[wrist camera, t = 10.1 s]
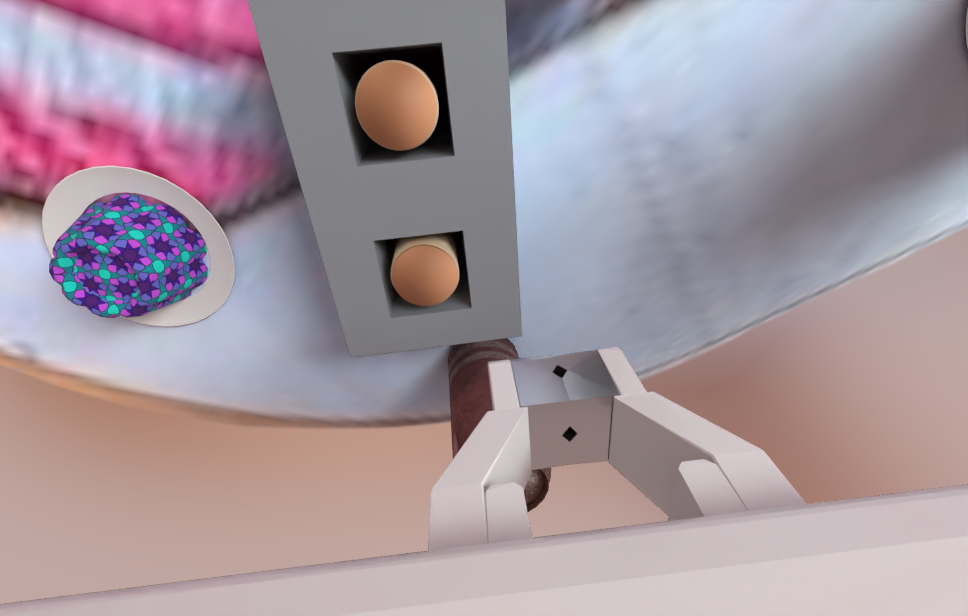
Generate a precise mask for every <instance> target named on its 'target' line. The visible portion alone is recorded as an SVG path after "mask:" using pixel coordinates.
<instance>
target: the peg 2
mask: <svg viewBox="0 0 968 616" xmlns="http://www.w3.org/2000/svg"><path fill="white" fill-rule="evenodd" d="M391 281H392V284H393V286H394V288H395V290H396V291H397V292H398V294H399V295H400V296H401V297H402V298H403V299H405V300H406V301H408V302H410V303H412V304H415V305H419V306H432V305H436V304H439V303H441V302H443V301H445V300H446V299H447V298H448V297H449V296H450V295H451V294H452V293H453V292H454V290H455V289H456V287H457V284H458V281H459V266H458V258H457V250H456V242H455V234H454V232H446V233H437V234H429V235H420V236H411V237H403V238H397V243H396V247H395V252H394V257H393V261H392V266H391Z"/></svg>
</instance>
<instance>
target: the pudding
mask: <svg viewBox="0 0 968 616" xmlns="http://www.w3.org/2000/svg"><path fill="white" fill-rule="evenodd" d="M122 192H129V193H139V194H143V195H147V196H151V197H153V198H156V199H158V200H161V201H163V202H165V203H167V204H168V205H170V206H172V207H174V208H175V209H177V210H178V211H179V212H181V213H182V214H183V215H185V216H186V217H187V218H188V219H189V220H190V221H191V222H192V223H193V224H194V226H195V227H196V228H197V229H198V231H199V232H200V233H201V235H202V237H203V239H204V240H205V242H206V245H207V248H208V250H209V254H210V260H211V265H210V273H209V277H208V268H207V267H206V265H205V264H204V262H203V260H202V259H203V258H204V256H205V254H206V253H207V250H206V246H205V242H204V241H203V239H202V238H201V237H200V235H199V234H198V233H196V232H194V231H192V230H190V229H188V228H187V227H186V224H185V222H184V219H183V216H182V215H180V214H179V213H178V212H177V211H176V210H175V209H174V208H171V207H169V206H167V205H165V204H152V205H150V204H149V203H147V202H146V201H145V200H144V199H142V198H141V197H140V196H137V195H132V194H122V195H116V196H115V197H114V198H113V199H112V200H111V201H110V202H109V203H100V202H97V203H95V204H93V205H92V206H90V207H89V208H88V209H87V210H86V211H85V209H86V208H87V206H88V205H90V204H91V203H92V202H93V201H94V200H96V199H98V198H100V197H102V196H104V195H108V194H112V193H122ZM84 211H85V212H84ZM83 212H84V213H83ZM82 213H83V214H82ZM42 230H43V237H44V241H45V244H46V246H47V249H48V252H49V254H50V256H51V258H52V260H51V261H50V264H49V272H50V274H51V276H52V278H53V280H55V281H56V282H57V283H59V284H60V285H61V286H62V293H63V294H64V295H65V296H66V298H67V299H68V300H70V301H71V302H73V303H74V304H76V305H80V306H85V307H87V308H88V309H89V310H90V311H91V312H92V313H93V314H96V315H98V316H101V317H108V318H114V317H117V316H119V317H121V318H124V319H127V320H130V321H134V322H137V323H141V324H146V325H152V326H165V327H171V326H183V325H187V324H191V323H195V322H198V321H200V320H202V319H205V318H207V317H208V316H210V315H211V314H213V313H214V312H216V311H217V310H218V309H219V308H220V307H221V306H222V305H223V304H224V303H225V301H226V299H227V298H228V296H229V294H230V292H231V290H232V286H233V283H234V276H235V264H234V257H233V253H232V250H231V247H230V244H229V241H228V239H227V237H226V235H225V233H224V232H223V230H222V228H221V226H220V225H219V224H218V222H217V221H216V220H215V218H214V217H213V216H212V214H211V213H210V212H209V211H208V210H207V209H206V208H205V207H204V206H203V205H202V204H201V203H200V202H199V201H198V200H196V199H195V198H194V197H192V196H191V195H190V194H189V193H187V192H186V191H185V190H183V189H182V188H180V187H178V186H176V185H175V184H173V183H171V182H169V181H168V180H166V179H163V178H161V177H158V176H156V175H154V174H151V173H149V172H145V171H141V170H137V169H133V168H129V167H119V166H99V167H92V168H88V169H84V170H80V171H77V172H75V173H73V174H71V175H69V176H67V177H65V178H64V179H63V180H62V181H61V182H60V183H58V184H57V185H56V186H55V187H54V188H53V190H52V191H51V193H50V194H49V196H48V197H47V200H46V202H45V205H44V208H43V213H42ZM207 277H208V279H207ZM206 279H207V281H206V283H205V285H204V286H203V287H202V288H201V289H200V290H199V291H198V292H197V293H196V294H194V295H193V296H191V297H189V298H187V299H185V298H186V297H188V296H190V295H191V289H192V288H195V287H197V286H199V285H202V284H203V283H204V282H205V280H206ZM183 299H184V300H183ZM180 300H181V301H180Z"/></svg>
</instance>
